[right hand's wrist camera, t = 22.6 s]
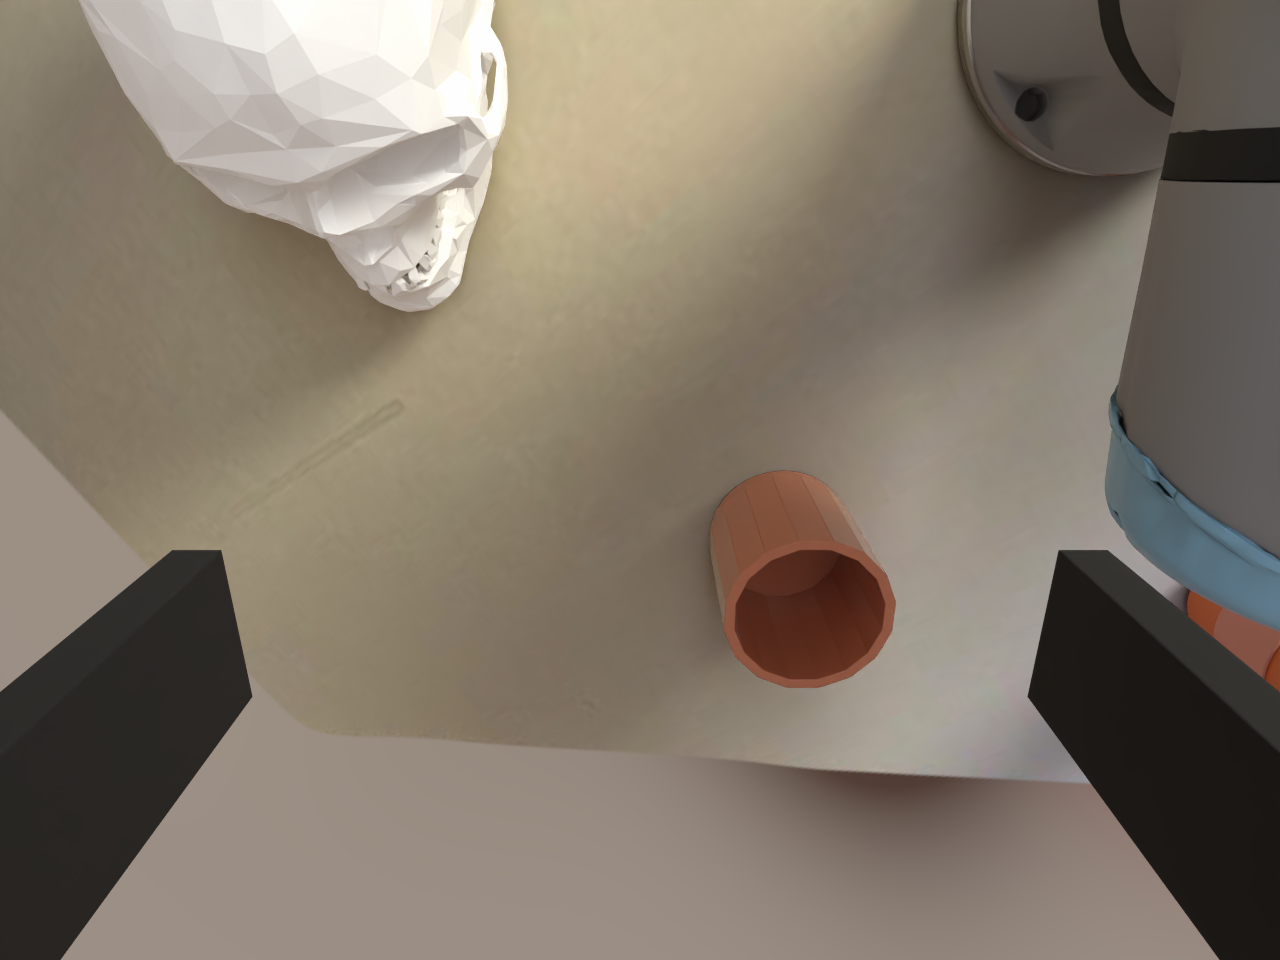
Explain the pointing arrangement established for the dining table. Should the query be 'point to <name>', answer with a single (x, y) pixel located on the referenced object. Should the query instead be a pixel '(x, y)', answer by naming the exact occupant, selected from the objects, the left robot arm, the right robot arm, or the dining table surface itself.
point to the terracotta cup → (797, 582)
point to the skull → (327, 119)
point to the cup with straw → (1239, 636)
